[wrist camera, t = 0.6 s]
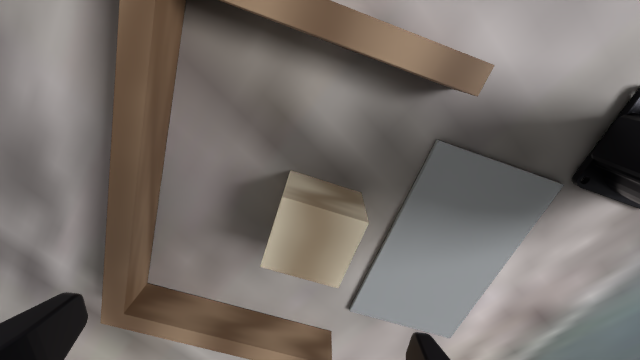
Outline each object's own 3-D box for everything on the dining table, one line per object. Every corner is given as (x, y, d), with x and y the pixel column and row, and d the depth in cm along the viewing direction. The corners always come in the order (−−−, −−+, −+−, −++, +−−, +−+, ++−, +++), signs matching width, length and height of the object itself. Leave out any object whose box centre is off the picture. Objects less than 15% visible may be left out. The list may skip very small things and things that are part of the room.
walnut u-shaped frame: (466, 62, 17) (494, 65, 14) (325, 342, 26) (325, 377, 23) (162, -57, 15) (124, -81, 12) (126, 291, 24) (100, 323, 21)
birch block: (361, 191, 20) (368, 223, 17) (335, 249, 22) (338, 288, 18) (290, 169, 20) (282, 196, 16) (271, 230, 22) (260, 266, 18)
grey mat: (560, 183, 19) (564, 185, 19) (448, 335, 25) (449, 338, 25) (436, 139, 18) (438, 140, 18) (349, 308, 24) (349, 311, 24)
